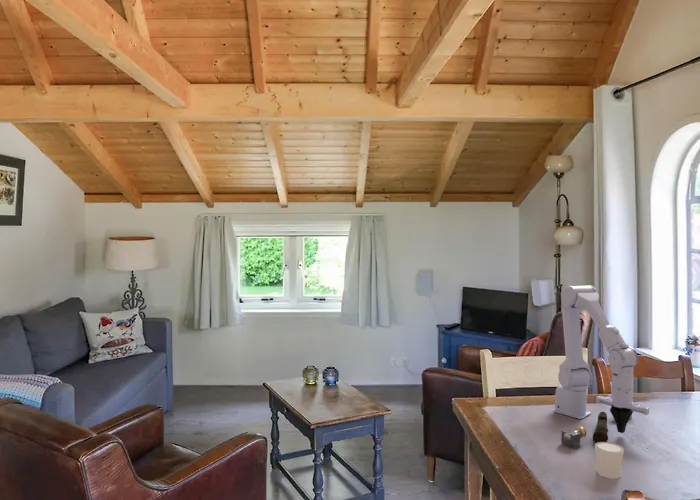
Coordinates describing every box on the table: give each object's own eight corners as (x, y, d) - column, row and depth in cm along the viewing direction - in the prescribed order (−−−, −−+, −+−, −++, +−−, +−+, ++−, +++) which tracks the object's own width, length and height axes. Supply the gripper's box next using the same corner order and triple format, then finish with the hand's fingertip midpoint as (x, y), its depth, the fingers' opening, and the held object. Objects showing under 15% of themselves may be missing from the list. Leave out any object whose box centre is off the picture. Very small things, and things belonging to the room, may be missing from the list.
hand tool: (607, 447, 150) (608, 431, 150) (592, 443, 152) (593, 428, 152) (612, 425, 166) (613, 411, 166) (598, 423, 168) (599, 409, 168)
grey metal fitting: (574, 439, 154) (575, 424, 154) (587, 444, 151) (587, 428, 151) (560, 444, 151) (560, 429, 150) (572, 449, 147) (572, 433, 147)
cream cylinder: (588, 467, 136) (589, 441, 136) (613, 466, 137) (614, 441, 136) (603, 480, 129) (604, 453, 129) (629, 479, 130) (630, 452, 130)
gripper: (592, 384, 159) (591, 428, 159) (643, 396, 148) (642, 442, 148) (601, 380, 163) (600, 422, 164) (652, 391, 153) (651, 436, 153)
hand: (621, 431), depth 157 cm, fingers closed
